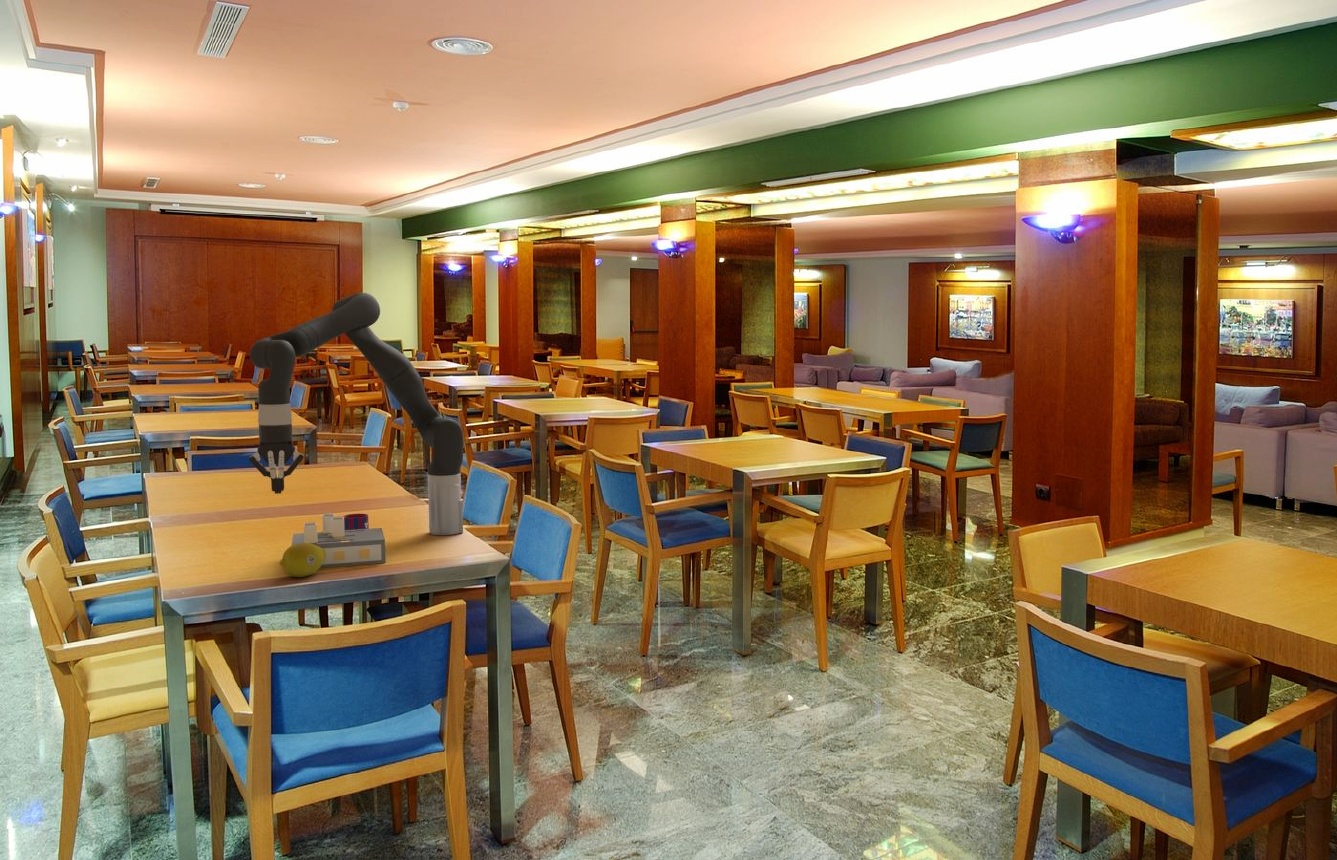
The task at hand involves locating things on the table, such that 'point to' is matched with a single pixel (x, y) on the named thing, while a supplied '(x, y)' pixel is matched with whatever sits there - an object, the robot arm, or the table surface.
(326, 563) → the console
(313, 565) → the lemon
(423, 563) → the table surface
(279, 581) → the table surface
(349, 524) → the mug
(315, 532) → the slider near
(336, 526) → the slider mid
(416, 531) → the table surface
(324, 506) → the table surface
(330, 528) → the slider far
